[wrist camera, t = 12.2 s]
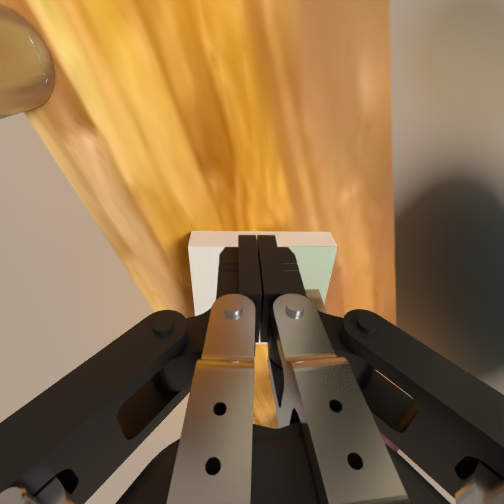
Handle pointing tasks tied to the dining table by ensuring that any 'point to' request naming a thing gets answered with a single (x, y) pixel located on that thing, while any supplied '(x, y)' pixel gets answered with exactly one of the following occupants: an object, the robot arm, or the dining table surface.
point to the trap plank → (213, 242)
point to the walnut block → (316, 299)
